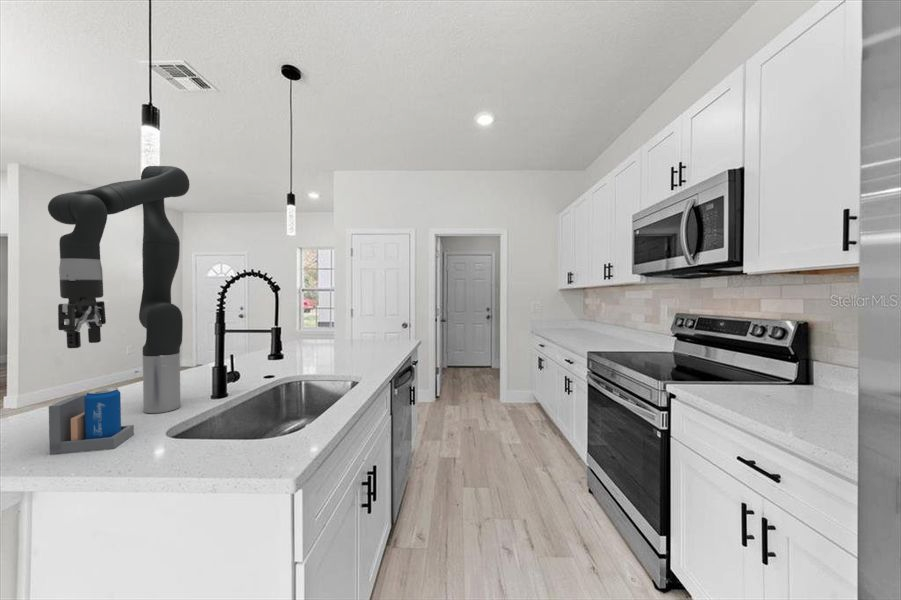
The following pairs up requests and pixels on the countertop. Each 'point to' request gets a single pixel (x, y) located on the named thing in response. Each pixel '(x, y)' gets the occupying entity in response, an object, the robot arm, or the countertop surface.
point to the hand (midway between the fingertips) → (84, 345)
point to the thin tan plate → (78, 427)
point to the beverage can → (102, 412)
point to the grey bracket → (62, 429)
